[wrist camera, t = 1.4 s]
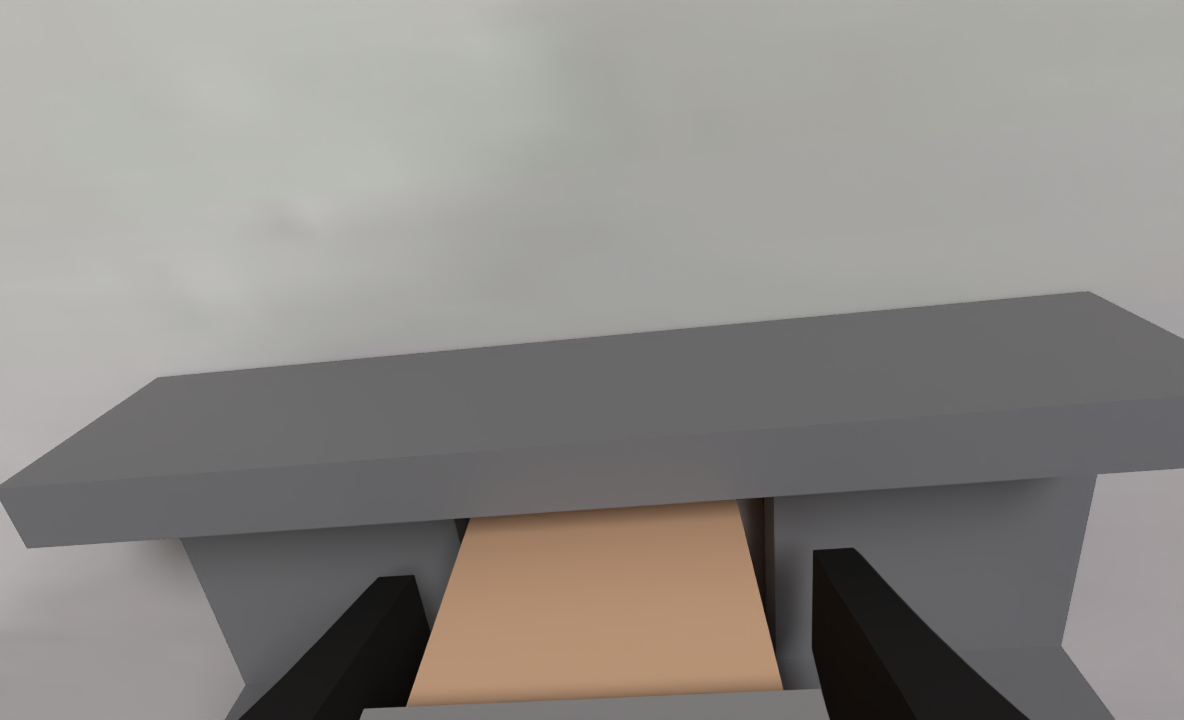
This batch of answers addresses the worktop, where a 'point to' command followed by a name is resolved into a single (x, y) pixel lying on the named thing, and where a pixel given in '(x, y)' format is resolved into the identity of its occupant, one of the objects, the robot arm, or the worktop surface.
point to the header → (653, 468)
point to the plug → (604, 622)
